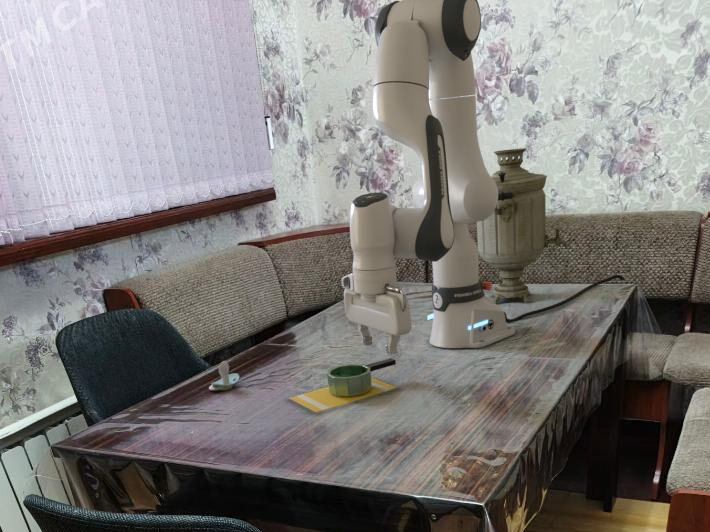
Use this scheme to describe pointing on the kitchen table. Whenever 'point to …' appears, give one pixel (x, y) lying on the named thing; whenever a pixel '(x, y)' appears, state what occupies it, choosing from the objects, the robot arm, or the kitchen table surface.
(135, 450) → the kitchen table surface
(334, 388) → the green saucepan
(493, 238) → the samovar
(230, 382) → the pacifier
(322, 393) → the towel
